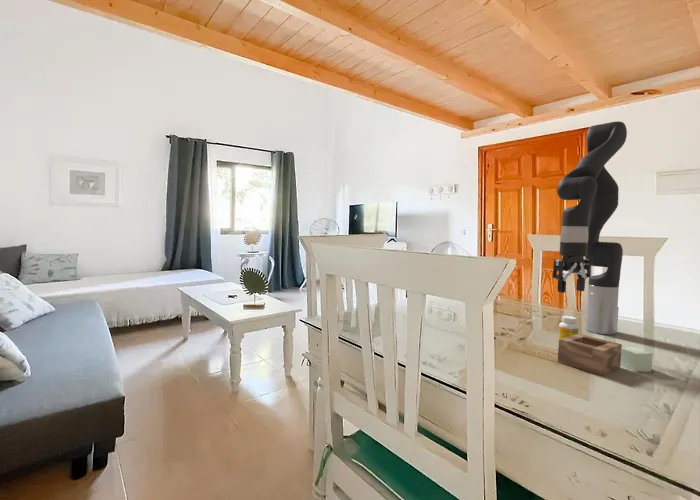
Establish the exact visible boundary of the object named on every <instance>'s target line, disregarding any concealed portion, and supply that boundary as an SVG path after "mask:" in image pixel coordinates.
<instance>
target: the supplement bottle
mask: <svg viewBox="0 0 700 500" xmlns="http://www.w3.org/2000/svg"><path fill="white" fill-rule="evenodd" d="M561 321H562V322H560V323H559V325H558V340H557V341H558V342H557V343H558V345H559V339H562V338H566V337H569V336H573V335H576V334H579V329H580V327H579V325H578V323H577V317H575V316H570V315H562V316H561Z"/></svg>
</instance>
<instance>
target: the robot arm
mask: <svg viewBox="0 0 700 500" xmlns="http://www.w3.org/2000/svg"><path fill="white" fill-rule="evenodd" d="M627 131H628V130H627V126H626V124H625V123H624V121H623V122H622V121H612V122H611V121H610V122H604V123H600V124H595V125H592V126H590V127H589V128H588V129H587V132H586V137H585V139H586V154H585V155H584V156H583V157H581V159H580V160H579V161H578V163H577V165H576V166H575V168H574V169H572V170H571V171H570V172H568V173H566V175H565V176H563V178H561V179H560V181H559V183H558V185H557V187H556V193H557V196H558V197H559V199H561V200H563V201H577V200H579V202H578V203H577V205H575V206H571V207H567V208H565V209H563V211H562V218H561V230H560V234H559V235H560V236H559V237H560V238H559V239H560V240H559V255H560V256H561V259H559V258H557V259H553V268H552V279H556V280H557V289H556V290H557V292H558V293H563V294H564V293H566V292H567V281H566V280H567V279H568V277H569V276H571V275H572V274H575V276H576V278H577V279H576V291H578V292H585V289H586V287H585V286H586V280H587V279H588V285H587V301H586V302H587V305H586V317H585V318H586V321H585V322H586V323H585V329H586V331H588V332H591V333H595V334H599V335H600V334H601V335H615V334H617V332H618V324H619V322H618V321H619V293H620V292H619V290H620V279H621V269H622V261H623V255H624V249H623V246H622V244H621V243H619V242H615V241H614V242H613V241H609V242H608V241H600V235H601V232H602V229H604V225H605V224H606V223H607V222H608V221H609V219H610V218H611V217H612V216H613V214H614V213H615V211H616V210H617V208H618V206H619V190H620V189H619V186H618V183H617V181H616V180H615V179H614V177H613V176H612V174H611V173H609V171H608V170H607V169H606V167H605V166H606V164H607V163H608V162H609V161H610V160H611V158H613V157H614V155H616V153H618V152H619V151H620V150H621V149H622V148H623V146H624V145H625V143H626V140H627V136H628V132H627ZM592 267H598V268H599V267H601V268H607V269H606V271H605V272H603V273H600V274H596V275H592Z"/></svg>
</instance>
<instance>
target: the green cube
mask: <svg viewBox="0 0 700 500" xmlns="http://www.w3.org/2000/svg"><path fill="white" fill-rule="evenodd" d="M653 354H654V353H652V352H650V351H648V350H646V349H645V350H644V349H641V348H639V347H638V346H637V347H636V346H631V347H630V346H628V347H623V346H622V347H621V362H620V367H623V368H625V369H627V370H629V369H630V371H632V372H634V371H635V372H634V373H638V372H637V371H645V372H652V370H653V369H652V368H653V356H654V355H653Z"/></svg>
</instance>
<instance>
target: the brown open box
mask: <svg viewBox="0 0 700 500" xmlns="http://www.w3.org/2000/svg"><path fill="white" fill-rule="evenodd" d="M558 341H559V344H558V349H557V351H558V352H557V362H558V363H560V364H562V365H567V366H570V367H573V368H577V369H580V370H583V371H585V372H589V373H590V374H591V373H592V374H595V375H598V376H603V375H605V374H608V373H611V372H612V371H615V370H617V369H620V368H621V366H620V362H621V347H623V346H622V344H621V343H618V342H614V341H609V340H605V339H602V338H599V337H593V336H589V335H585V334H581V333H578V334H576V335H573V336H569V337H566V338H562V339H559V338H558Z"/></svg>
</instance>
